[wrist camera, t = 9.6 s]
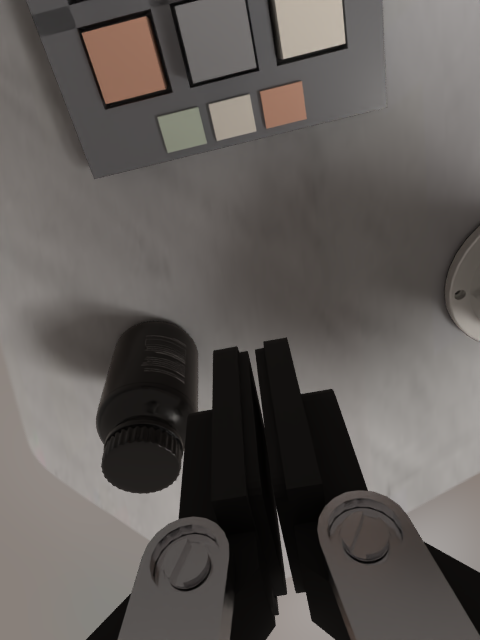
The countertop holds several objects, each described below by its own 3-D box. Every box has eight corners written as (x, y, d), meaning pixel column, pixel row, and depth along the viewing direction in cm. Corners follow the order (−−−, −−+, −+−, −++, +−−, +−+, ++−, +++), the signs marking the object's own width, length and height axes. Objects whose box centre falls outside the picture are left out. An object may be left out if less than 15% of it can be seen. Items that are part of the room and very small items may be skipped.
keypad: (355, -213, 22) (386, -266, 18) (373, 103, 29) (398, 111, 25) (-2, -112, 23) (-42, -142, 19) (102, 169, 30) (88, 187, 26)
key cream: (327, -28, 25) (339, -35, 23) (333, 43, 27) (345, 43, 24) (266, -12, 25) (272, -17, 23) (276, 58, 27) (283, 59, 25)
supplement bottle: (97, 346, 37) (57, 461, 27) (163, 302, 35) (147, 407, 25) (151, 397, 40) (134, 518, 30) (215, 360, 38) (219, 474, 28)
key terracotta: (150, 18, 25) (145, 16, 23) (168, 85, 27) (165, 89, 25) (91, 34, 25) (81, 32, 23) (113, 99, 27) (105, 104, 25)
